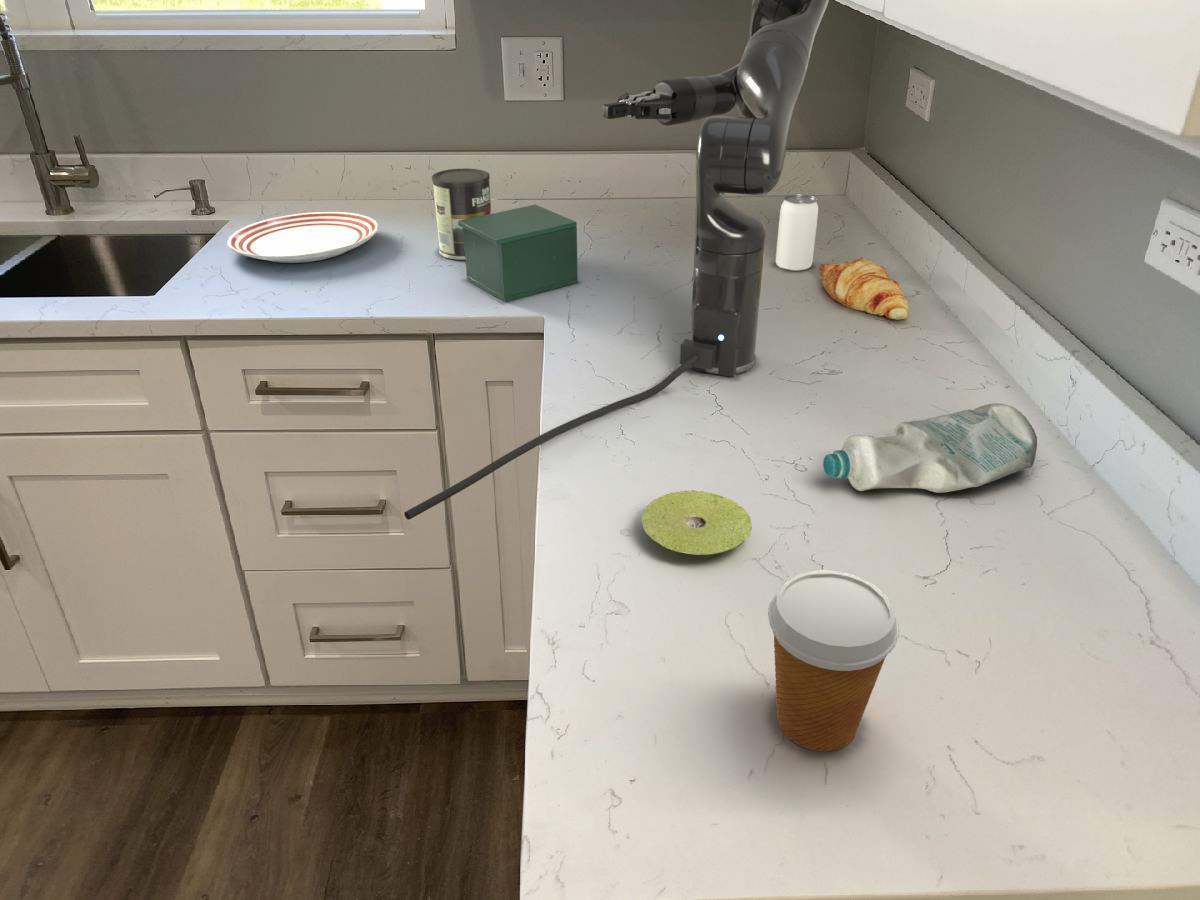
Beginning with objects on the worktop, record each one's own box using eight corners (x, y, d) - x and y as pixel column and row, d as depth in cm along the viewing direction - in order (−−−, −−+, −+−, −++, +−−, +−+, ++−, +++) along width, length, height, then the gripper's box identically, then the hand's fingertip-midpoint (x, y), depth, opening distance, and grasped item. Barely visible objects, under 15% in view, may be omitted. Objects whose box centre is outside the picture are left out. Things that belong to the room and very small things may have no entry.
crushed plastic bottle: (981, 431, 114) (794, 455, 108) (998, 381, 109) (805, 404, 104) (1049, 496, 103) (847, 527, 98) (1070, 444, 99) (860, 473, 93)
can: (810, 259, 168) (817, 193, 161) (813, 272, 162) (821, 204, 156) (774, 258, 168) (780, 193, 162) (776, 271, 163) (782, 203, 156)
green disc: (691, 492, 103) (692, 478, 102) (772, 536, 96) (774, 521, 95) (618, 534, 96) (619, 518, 95) (700, 584, 89) (701, 568, 88)
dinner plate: (198, 263, 167) (193, 246, 166) (287, 220, 190) (284, 204, 188) (329, 280, 160) (326, 261, 158) (406, 232, 182) (404, 216, 180)
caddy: (504, 302, 151) (501, 244, 146) (466, 280, 160) (462, 224, 155) (577, 282, 158) (576, 226, 153) (537, 262, 167) (535, 209, 162)
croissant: (915, 341, 145) (942, 295, 142) (875, 324, 139) (903, 276, 137) (829, 294, 161) (852, 252, 159) (791, 277, 155) (814, 233, 153)
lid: (496, 245, 145) (496, 240, 145) (458, 225, 154) (457, 220, 154) (576, 226, 153) (576, 221, 153) (535, 208, 162) (535, 204, 162)
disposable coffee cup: (803, 786, 69) (822, 668, 63) (734, 700, 76) (745, 586, 70) (903, 742, 72) (930, 626, 66) (828, 664, 80) (846, 553, 73)
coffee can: (503, 245, 175) (499, 170, 168) (478, 263, 167) (472, 185, 160) (456, 239, 178) (449, 165, 171) (428, 256, 170) (420, 179, 163)
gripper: (660, 73, 166) (582, 82, 157) (710, 82, 157) (629, 93, 148) (659, 116, 170) (582, 128, 161) (707, 128, 161) (629, 141, 152)
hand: (605, 111), depth 155 cm, fingers closed
